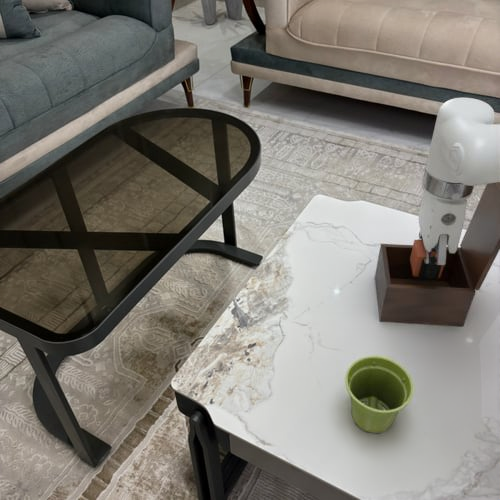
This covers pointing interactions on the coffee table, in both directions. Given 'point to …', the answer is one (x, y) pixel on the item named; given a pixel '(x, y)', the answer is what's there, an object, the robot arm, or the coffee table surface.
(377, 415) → the plant pot
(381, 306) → the chest
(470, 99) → the robot arm
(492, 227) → the lid
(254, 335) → the coffee table surface
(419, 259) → the block
